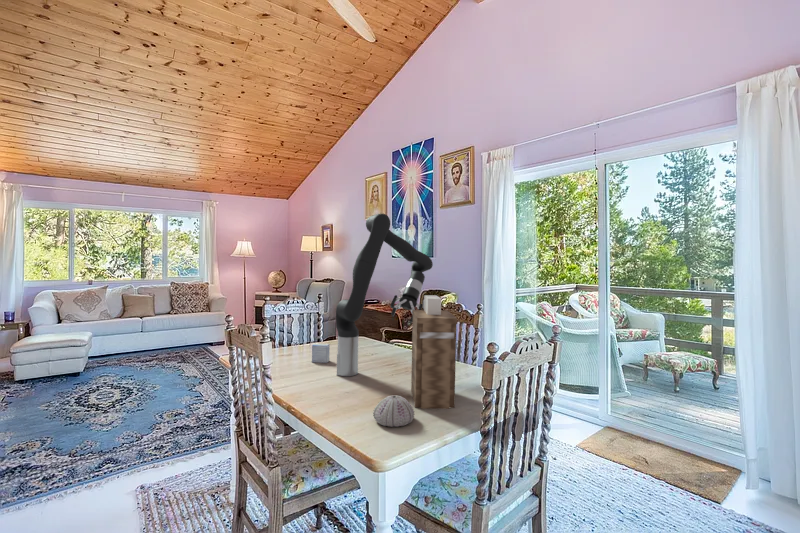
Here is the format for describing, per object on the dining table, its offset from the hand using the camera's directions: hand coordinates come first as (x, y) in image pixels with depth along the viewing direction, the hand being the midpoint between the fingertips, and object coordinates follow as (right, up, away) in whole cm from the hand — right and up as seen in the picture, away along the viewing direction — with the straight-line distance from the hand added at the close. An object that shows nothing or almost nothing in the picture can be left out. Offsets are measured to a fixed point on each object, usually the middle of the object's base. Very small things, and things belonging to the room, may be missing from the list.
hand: (401, 319), depth 179 cm
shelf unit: (+11, -26, -30) cm, 42 cm away
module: (+11, +6, -23) cm, 26 cm away
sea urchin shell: (-3, -26, -51) cm, 58 cm away
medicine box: (-40, -24, +18) cm, 50 cm away
